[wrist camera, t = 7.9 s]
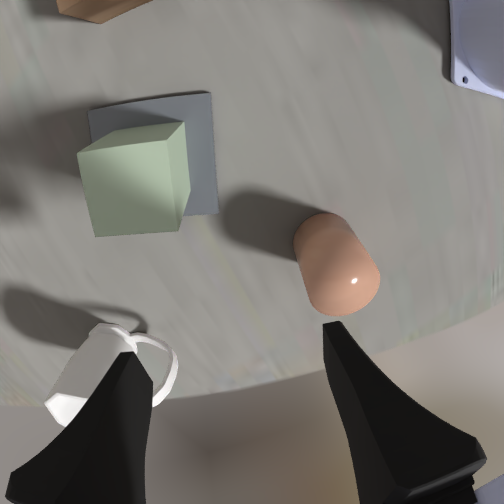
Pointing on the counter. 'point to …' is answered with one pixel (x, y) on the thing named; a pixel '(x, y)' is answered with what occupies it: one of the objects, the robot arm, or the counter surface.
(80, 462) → the robot arm
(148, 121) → the slate coaster
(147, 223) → the sage block
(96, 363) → the cup
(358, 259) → the terracotta cylinder
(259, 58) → the counter surface
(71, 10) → the walnut block
